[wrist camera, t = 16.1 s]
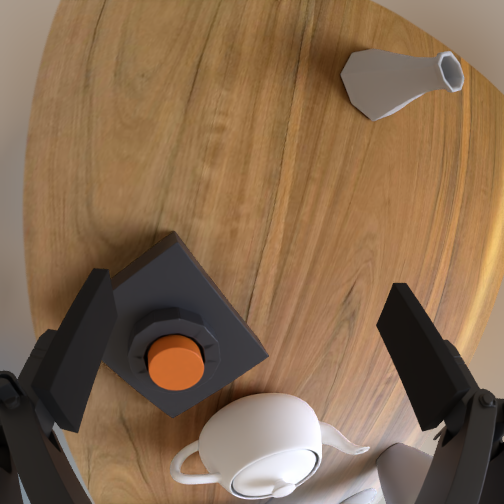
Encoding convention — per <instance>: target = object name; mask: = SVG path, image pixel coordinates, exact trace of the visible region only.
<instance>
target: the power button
mask: <svg viewBox="0 0 504 504" xmlns="http://www.w3.org/2000/svg"><path fill="white" fill-rule="evenodd" d="M148 369H149V375H150V377H151V379H152V380H153V381H154V382H155V383H156V384H157V385H158V386H160V387H162V388H164V389H167V390H184V389H187V388H190V387H192V386H193V385H195V384H196V383H197V382H198V381H199V380H200V379H201V377H202V375H203V372H204V364H203V360H202V357H201V353H200V350H199V348H198V346H197V345H196V343H195V342H194V341H192V340H191V339H189V338H187V337H185V336H181V335H168V336H164V337H162V338H160V339H158V340H157V341H155V342H154V343H153V344H152V346H151V347H150V349H149V352H148Z"/></svg>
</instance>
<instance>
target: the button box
mask: <svg viewBox="0 0 504 504" xmlns="http://www.w3.org/2000/svg"><path fill="white" fill-rule="evenodd" d="M111 285H112V290H113V295H114V300H115V304H116V309H117V314H118V318H117V320H116V323H115V326H114V328H113V331H112V333H111V336H110V338H109V341H108V344H107V346H106V349H105V352H104V355H103V357H102V361H103V362H104V363H105V364H106V365H108V366H109V367H110V368H111V369H112V370H113V371H114V372H115V373H117V374H118V375H119V376H120V377H121V378H122V379H123V380H125V381H126V382H127V383H128V384H129V385H131V386H132V387H133V388H134V389H135V390H137V391H138V392H139V393H140V394H142V395H143V396H144V397H145V398H147V399H148V400H149V401H150V402H152V403H153V404H154V405H156V406H157V407H158V408H159V409H161V410H162V411H163V412H165V413H166V414H167V415H169V416H170V417H172V418H174V417H176V416H177V415H179V414H181V413H183V412H184V411H186V410H188V409H189V408H191V407H192V406H194V405H196V404H197V403H199V402H201V401H202V400H204V399H205V398H207V397H209V396H210V395H212V394H213V393H215V392H217V391H218V390H220V389H221V388H223V387H224V386H226V385H227V384H229V383H230V382H232V381H233V380H235V379H237V378H238V377H240V376H241V375H243V374H244V373H245V372H247V371H248V370H250V369H251V368H253V367H254V366H256V365H257V364H259V363H260V362H262V361H263V360H264V359H266V358H267V357H269V355H268V354H267V352H266V350H265V349H264V347H263V345H262V344H261V342H260V340H259V339H258V337H257V336H256V335H255V334H254V332H253V331H252V330H251V329H250V327H249V326H248V325H247V324H246V322H245V321H244V320H243V319H242V318H241V316H240V315H239V314H238V313H237V311H236V310H235V309H234V308H233V306H232V305H231V304H230V302H229V301H228V300H227V299H226V297H225V296H224V295H223V294H222V292H221V291H220V290H219V288H218V287H217V286H216V285H215V283H214V282H213V281H212V279H211V278H210V277H209V276H208V274H207V273H206V272H205V270H204V269H203V268H202V266H201V265H200V264H199V263H198V261H197V260H196V259H195V257H194V256H193V255H192V253H191V252H190V251H189V249H188V248H187V247H186V245H185V244H184V243H183V241H182V240H181V239H180V237H179V236H178V235H177V233H176V232H175V231H173V232H172V233H171V234H169V235H168V236H167V237H165V238H164V239H163V240H161V241H160V242H159V243H157V244H156V245H155V246H153V247H152V248H151V249H149V250H148V251H147V252H145V253H144V254H143V255H141V256H140V257H139V258H137V259H136V260H135V261H134V262H132V263H131V264H130V265H128V266H127V267H126V268H125V269H123V270H122V271H121V272H119V273H118V274H117V275H116V276H114V277H113V278H112V279H111ZM168 335H181V336H185V337H187V338H189V339H191V340H192V341H194V342H195V343H196V345H197V346H198V348H199V350H200V353H201V357H202V360H203V364H204V372H203V375H202V377H201V379H200V380H199V381H198V382H197V383H196V384H195V385H193V386H192V387H190V388H187V389H184V390H167V389H164V388H162V387H160V386H158V385H157V384H156V383H155V382H154V381H153V380H152V379H151V377H150V375H149V369H148V352H149V349H150V347H151V346H152V344H153V343H154V342H155V341H157V340H158V339H160V338H162V337H164V336H168Z"/></svg>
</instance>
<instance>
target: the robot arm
mask: <svg viewBox="0 0 504 504" xmlns="http://www.w3.org/2000/svg"><path fill="white" fill-rule="evenodd" d="M117 318H118V314H117V309H116V304H115V300H114V295H113V290H112V285H111V279H110V274H109V270H108V269H95V268H94V269H93V270H92V272H91V273H90V275H89V277H88V278H87V280H86V282H85V283H84V285H83V287H82V288H81V290H80V292H79V293H78V295H77V297H76V298H75V300H74V302H73V304H72V305H71V307H70V309H69V311H68V312H67V314H66V316H65V318H64V320H63V321H62V323H61V325H60V327H59V329H58V331H57V330H51V329H48V330H47V331H46V332H45V333H43V334H42V335H41V336H40V337H39V339H38V341H37V343H36V344H35V346H34V349H33V350H32V352H31V354H30V357H29V358H28V360H27V362H26V363H25V365H24V367H23V369H22V371H21V373H20V375H19V377H18V379H17V378H16V377H15V375H14V374H12V373H11V372H9V371H0V504H23V500H22V495H21V489H20V485H19V478H18V474H19V477H20V479H21V482H22V484H23V487H24V489H25V491H26V494H27V496H28V498H29V500H30V503H31V504H92V503H91V501H90V499H89V498H88V496H87V494H86V493H85V491H84V489H83V487H82V486H81V484H80V482H79V480H78V479H77V477H76V475H75V473H74V471H73V469H72V467H71V465H70V464H69V461H68V460H67V457H66V455H65V453H64V452H63V449H62V447H61V445H60V443H59V441H58V438H57V436H56V434H55V432H54V431H53V429H52V428H53V425H54V422H56V423H57V425H58V426H59V427H60V428H61V429H64V430H68V431H72V432H75V433H78V431H79V428H80V424H81V421H82V418H83V414H84V411H85V408H86V405H87V401H88V398H89V395H90V392H91V389H92V386H93V383H94V380H95V377H96V374H97V371H98V369H99V366H100V363H101V360H102V357H103V355H104V352H105V349H106V346H107V344H108V341H109V338H110V336H111V333H112V331H113V328H114V326H115V323H116V320H117ZM376 326H377V328H378V330H379V332H380V335H381V337H382V339H383V341H384V343H385V345H386V347H387V350H388V352H389V354H390V356H391V358H392V361H393V363H394V365H395V367H396V370H397V372H398V374H399V376H400V379H401V381H402V383H403V386H404V388H405V390H406V393H407V395H408V397H409V400H410V402H411V405H412V407H413V410H414V412H415V415H416V417H417V420H418V422H419V425H420V427H421V430H422V431H426V430H430V429H433V428H436V427H437V426H438V425H439V424H440V423H441V422H442V421H443V420H444V422H445V424H446V426H445V427H444V428H443V429H442V430H441V431H440V432H439V433H438V434H437V435H436V436H435V437H434V439H433V440H436V439H437V438H438V437H439V436H440V435H441V436H440V439H439V441H438V445H437V448H436V451H435V454H434V457H433V459H432V462H431V465H430V467H429V470H428V473H427V475H426V478H425V480H424V483H423V485H422V487H421V490H420V492H419V494H418V497H417V499H416V501H415V503H414V504H504V442H503V441H502V437H503V436H504V399H498V398H495V396H494V395H493V394H492V393H491V392H490V391H488V390H486V389H480V388H479V387H478V385H477V383H476V381H475V380H474V378H473V376H472V374H471V373H470V371H469V369H468V367H467V366H466V364H464V363H465V362H464V361H463V359H462V357H460V354H459V352H458V351H457V349H456V347H455V346H454V345H453V344H451V343H450V342H449V341H448V340H443V339H442V337H441V335H440V334H439V332H438V331H437V329H436V327H435V326H434V324H433V323H432V321H431V319H430V318H429V316H428V315H427V313H426V312H425V310H424V309H423V307H422V306H421V304H420V303H419V301H418V300H417V298H416V297H415V295H414V294H413V292H412V291H411V289H410V288H409V287H408V285H407V284H406V283H393V285H392V288H391V290H390V293H389V295H388V298H387V300H386V303H385V305H384V308H383V310H382V313H381V315H380V317H379V320H378V322H377V324H376Z"/></svg>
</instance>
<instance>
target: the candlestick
mask: <svg viewBox="0 0 504 504" xmlns="http://www.w3.org/2000/svg"><path fill="white" fill-rule="evenodd" d="M376 493H377V491H376V490H375V489H374V488H371V489H367V490H364V491H362V492H359V493H357V494H355V495H353V496H352V497H350V498H348V499H346V500H345V501H343V502H342V503H340V504H370V503H371V502H372V500H373V499H374V498H375V496H376Z"/></svg>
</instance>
